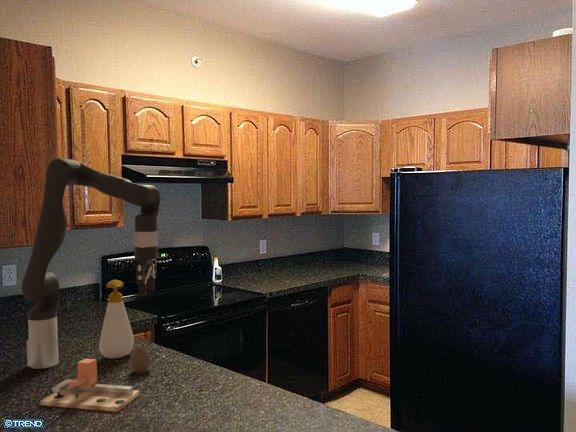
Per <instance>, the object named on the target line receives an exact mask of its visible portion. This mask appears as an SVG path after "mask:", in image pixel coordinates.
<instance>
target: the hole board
mask: <svg viewBox="0 0 576 432" xmlns="http://www.w3.org/2000/svg"><path fill="white" fill-rule="evenodd" d="M140 394H141V393H140V390H138V389H137V390H134V389H133V394H131V395H130V396H126V395H114V394H102V393H89V392H78V397H77V398H75V391H64V390H62V391H60V397H57V392H53V393H51V394H49V395H48V396H46V397H44V398H43V399H41V400H40V401H39V405H40V406H48V407H59V408H60V407H61V408H69V409H70V408H71V409H72V408H73V409H82V410H92V411H93V410H95V411H104V412H105V411H106V412H114V413H115V412H116V413H118V412H120V411H121V410H122V409H124V408H125V407H126V406H127V405H128V404H130V403H131V402H132V401H134V400H135V399H136V398H137V397H138V396H140Z"/></svg>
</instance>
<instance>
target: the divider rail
mask: <svg viewBox="0 0 576 432" xmlns="http://www.w3.org/2000/svg"><path fill="white" fill-rule="evenodd" d="M72 380H73V379H69V378H67V379H64V380H63V381H61V382H59V383H57V384H55V385H54V386H53V387H51V389H52V390H51V391H52V392H53V393H54V392H57V397H60V391H62V390H64V391H75V386H70V382H71V381H72ZM133 390H134V386H131V385H118V384H116V385H115V384H103V383H94V384H93V385H91V386H80V385H79V386H78V392H89V393H102V394H114V395H126V396H130V395H131V394H133Z"/></svg>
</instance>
